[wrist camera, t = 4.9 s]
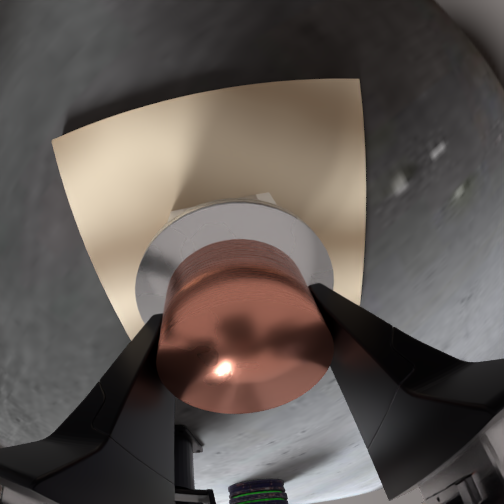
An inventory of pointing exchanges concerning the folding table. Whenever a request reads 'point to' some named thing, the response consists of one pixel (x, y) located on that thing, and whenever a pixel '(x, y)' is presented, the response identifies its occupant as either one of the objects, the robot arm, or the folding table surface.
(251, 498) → the storage jar
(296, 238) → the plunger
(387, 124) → the folding table surface
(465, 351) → the folding table surface
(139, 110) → the stand
